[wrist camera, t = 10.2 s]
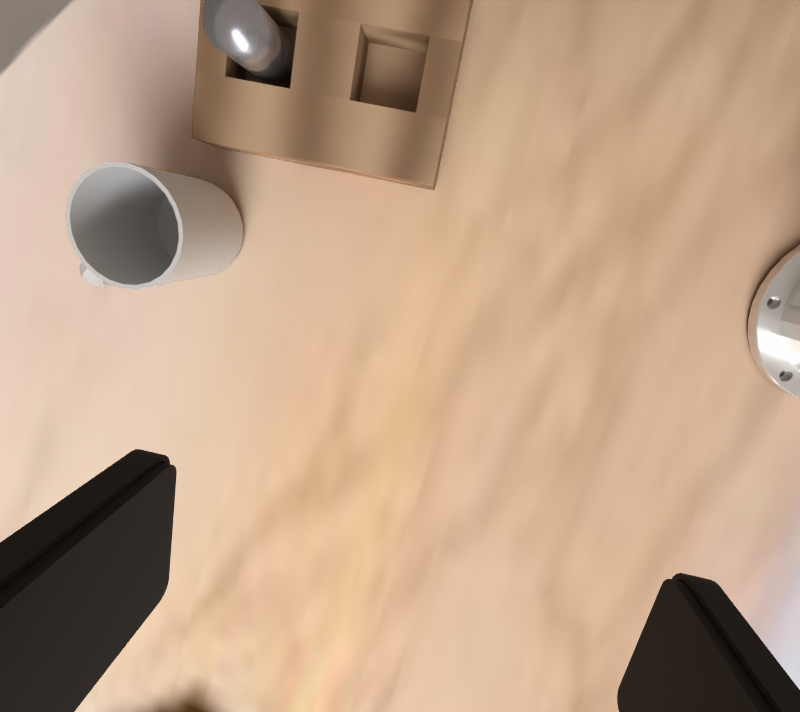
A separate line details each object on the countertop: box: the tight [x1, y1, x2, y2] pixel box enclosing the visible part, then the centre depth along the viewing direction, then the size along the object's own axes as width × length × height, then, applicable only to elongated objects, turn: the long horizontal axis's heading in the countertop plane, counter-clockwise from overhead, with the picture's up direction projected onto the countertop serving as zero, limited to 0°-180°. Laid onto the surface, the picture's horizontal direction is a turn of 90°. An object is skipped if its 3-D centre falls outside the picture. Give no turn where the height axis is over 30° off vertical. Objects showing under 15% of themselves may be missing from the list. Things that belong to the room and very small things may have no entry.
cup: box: [66, 162, 243, 289], centre depth 32 cm, size 7×10×9 cm
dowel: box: [202, 0, 295, 87], centre depth 28 cm, size 3×3×7 cm
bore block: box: [192, 0, 473, 190], centre depth 31 cm, size 16×12×4 cm
